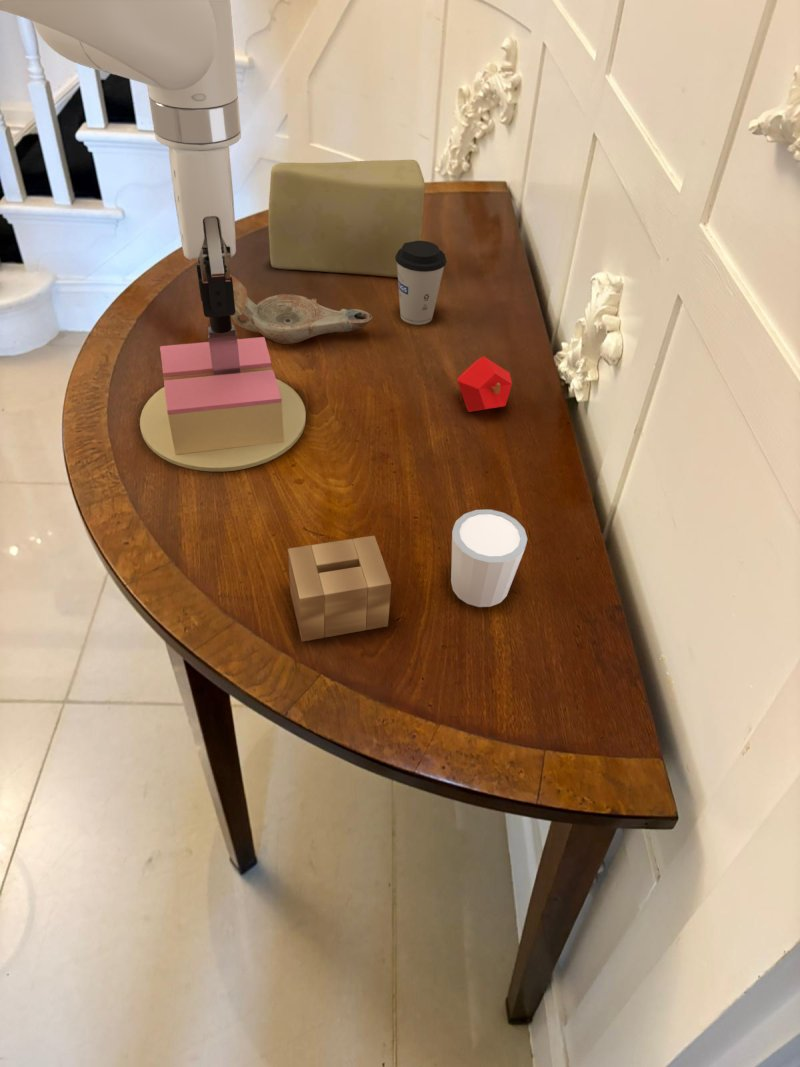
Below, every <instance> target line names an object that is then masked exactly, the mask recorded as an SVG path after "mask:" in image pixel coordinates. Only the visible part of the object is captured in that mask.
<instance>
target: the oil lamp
mask: <svg viewBox="0 0 800 1067" xmlns="http://www.w3.org/2000/svg"><path fill="white" fill-rule="evenodd" d="M230 277H232V281H233V291H234V301H235V314H234V315H231V320H232V321H233V323H234V324H235V325H236V326H237V327H238V328H241V329H243V330H246V331H250V332H255V333H260V335H262V337H264V338H265V339H268V340H269V341H272V342H274V343H277V344H280V345H292V344H296V343H300V342H303V341H305V340H308V339H310V338H313V337H316V336H321V335H326V334H332V333H342V332H343V333H344V332H352V331H357V330H358V331H359V330H360V329H362V328H364V327H366V326H367V325H369V324H370V323H371V321H372V320H373V316H372V314H371V313H370V312H367V311H365V310H362V309H357V308H350V309H346V308H341V309H340V310H335V309H331V308H328V307H326V306H324V305H320V304H319V303H317V298H311V299H310V298H308V297H305V296H302V295H298V294H292V293H291V294H289V293H288V294H287V293H286V294H285V293H283V294H276V295H272V296H267V297H266V298H264V299H262V300H260V301H259V302H257V304H256V303H254V302H253V301H252V300H251V298H249V297H248V292H247V288H246V286H245V285H244V284H243V283H242V282H241V281H240V280H238V279H237V278H235V276H233V275H231V274H230ZM240 316H245V317H246V318H247V320H241V318H240Z"/></svg>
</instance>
